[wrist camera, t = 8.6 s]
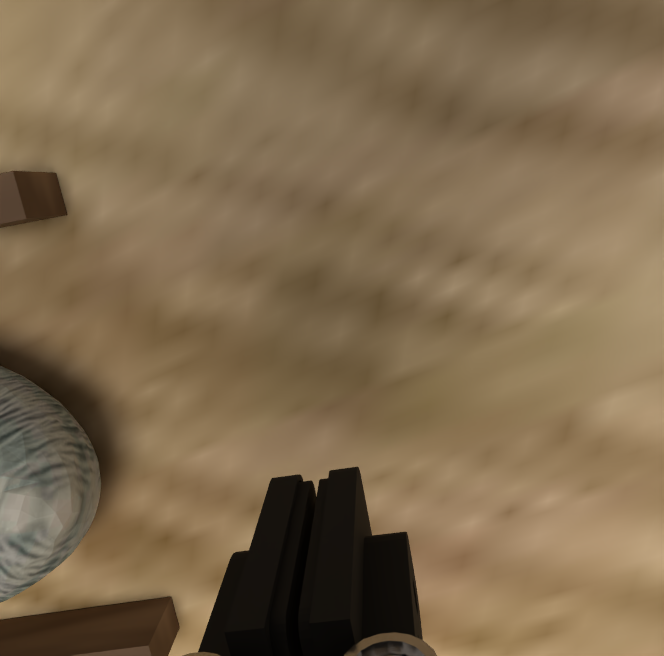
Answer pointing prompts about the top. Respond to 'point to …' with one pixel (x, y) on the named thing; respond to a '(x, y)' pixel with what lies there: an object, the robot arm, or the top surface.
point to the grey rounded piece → (41, 483)
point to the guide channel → (98, 622)
